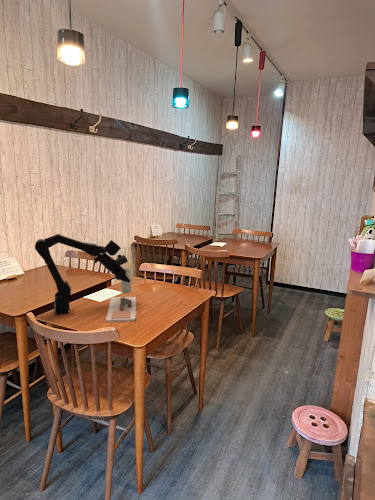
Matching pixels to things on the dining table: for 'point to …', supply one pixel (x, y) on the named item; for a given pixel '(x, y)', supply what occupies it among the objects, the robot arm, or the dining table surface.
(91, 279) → the dining table surface
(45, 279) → the dining table surface
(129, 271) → the grey upright cylinder
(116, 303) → the base board
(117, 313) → the mat
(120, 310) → the brown arch piece
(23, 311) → the dining table surface
